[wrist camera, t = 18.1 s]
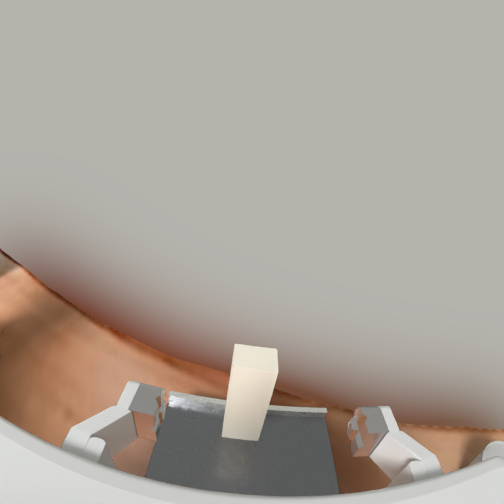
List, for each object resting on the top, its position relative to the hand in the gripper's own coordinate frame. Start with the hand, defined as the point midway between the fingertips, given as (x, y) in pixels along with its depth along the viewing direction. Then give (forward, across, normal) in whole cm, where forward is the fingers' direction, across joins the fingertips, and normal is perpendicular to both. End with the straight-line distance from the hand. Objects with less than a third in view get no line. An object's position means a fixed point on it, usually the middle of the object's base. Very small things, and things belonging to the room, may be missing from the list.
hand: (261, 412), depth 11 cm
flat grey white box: (+14, +2, -30) cm, 33 cm away
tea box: (+18, +1, -26) cm, 32 cm away
